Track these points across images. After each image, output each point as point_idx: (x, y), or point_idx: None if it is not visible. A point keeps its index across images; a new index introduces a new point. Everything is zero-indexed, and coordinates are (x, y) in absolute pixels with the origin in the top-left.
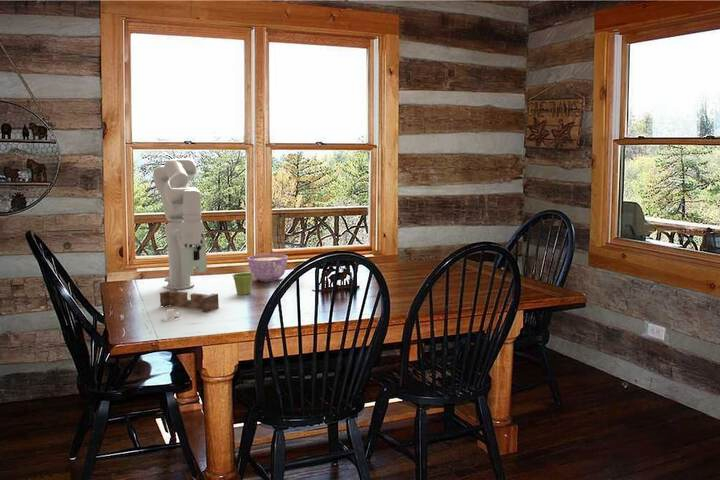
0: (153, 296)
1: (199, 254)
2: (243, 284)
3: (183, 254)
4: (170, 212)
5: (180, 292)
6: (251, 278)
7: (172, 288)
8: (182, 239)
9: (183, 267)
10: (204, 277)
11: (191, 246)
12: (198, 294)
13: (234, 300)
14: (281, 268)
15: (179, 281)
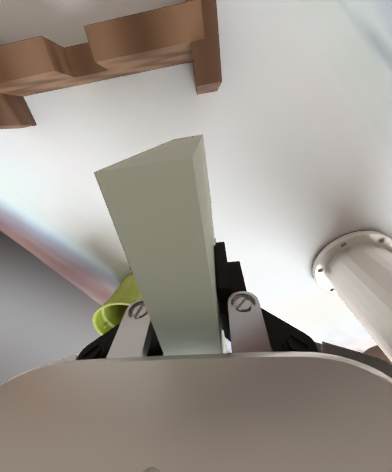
0: (365, 125)
1: None
2: (113, 294)
3: (152, 154)
4: None
5: (119, 36)
6: (103, 322)
7: (357, 232)
8: (389, 459)
9: (181, 140)
10: (348, 342)
11: (216, 351)
12: (10, 61)
13: (87, 226)
14: None
15: (351, 259)
